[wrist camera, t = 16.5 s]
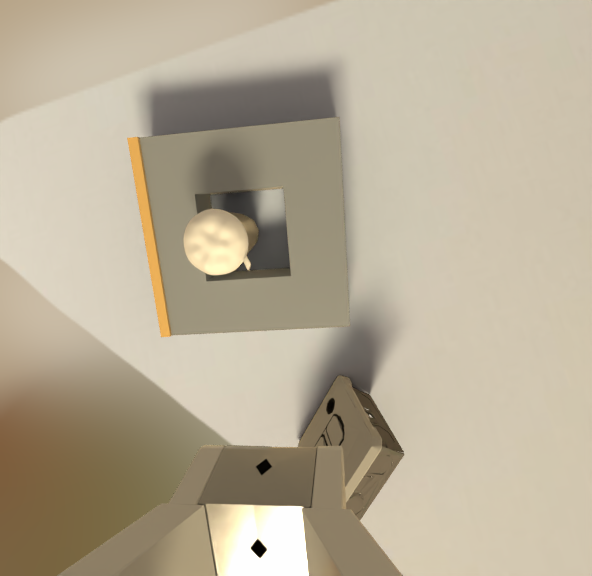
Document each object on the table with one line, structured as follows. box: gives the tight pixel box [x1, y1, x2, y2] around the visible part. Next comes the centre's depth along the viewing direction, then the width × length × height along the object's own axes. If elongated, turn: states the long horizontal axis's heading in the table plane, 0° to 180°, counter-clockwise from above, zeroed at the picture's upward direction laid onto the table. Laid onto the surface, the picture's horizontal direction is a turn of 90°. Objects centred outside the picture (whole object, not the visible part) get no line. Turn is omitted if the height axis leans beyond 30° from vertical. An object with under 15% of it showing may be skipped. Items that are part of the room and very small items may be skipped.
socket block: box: [127, 117, 350, 337], centre depth 31 cm, size 16×16×4 cm
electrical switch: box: [298, 375, 404, 520], centre depth 33 cm, size 9×5×9 cm, turn 154°
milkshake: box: [184, 209, 259, 275], centre depth 29 cm, size 4×5×10 cm
